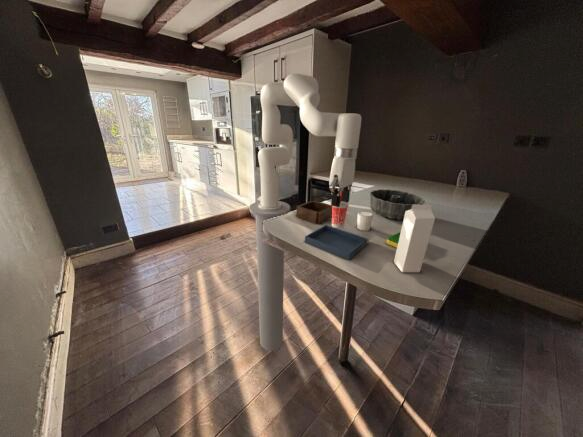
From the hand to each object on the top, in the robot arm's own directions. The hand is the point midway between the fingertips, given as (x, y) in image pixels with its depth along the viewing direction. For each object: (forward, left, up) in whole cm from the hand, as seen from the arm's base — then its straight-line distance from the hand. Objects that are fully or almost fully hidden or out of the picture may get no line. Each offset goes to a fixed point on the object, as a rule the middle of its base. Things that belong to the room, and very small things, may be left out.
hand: (340, 203), depth 85 cm
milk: (+26, +2, -17) cm, 31 cm away
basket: (-22, +18, -17) cm, 33 cm away
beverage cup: (0, 0, -9) cm, 9 cm away
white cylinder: (+2, +22, -17) cm, 27 cm away
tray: (0, 0, -17) cm, 17 cm away
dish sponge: (+20, +20, -17) cm, 33 cm away
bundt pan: (+6, +50, -17) cm, 53 cm away
